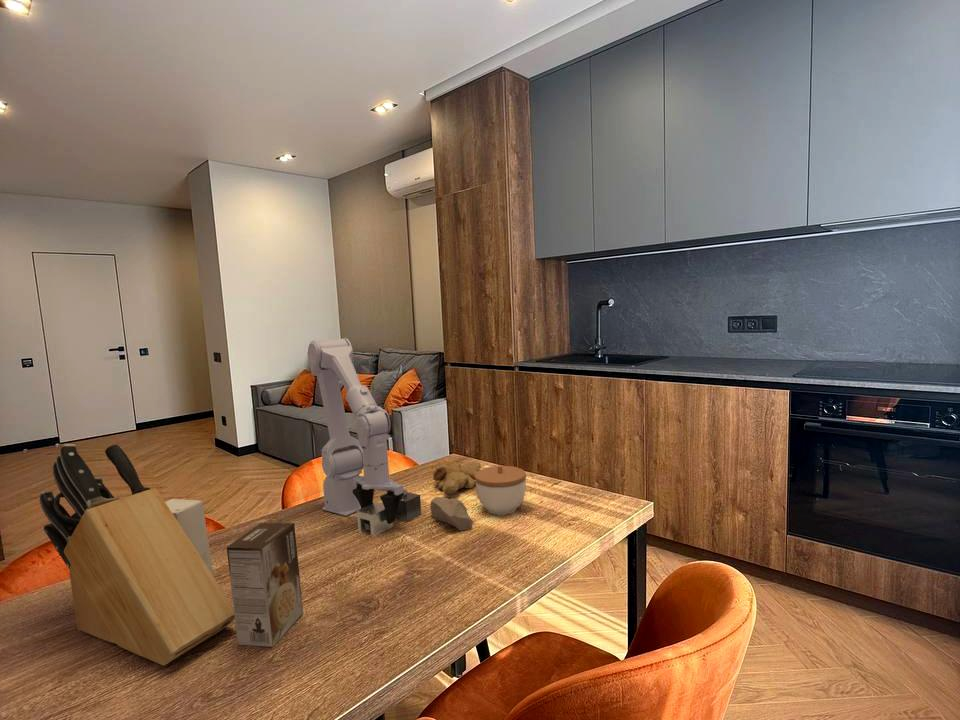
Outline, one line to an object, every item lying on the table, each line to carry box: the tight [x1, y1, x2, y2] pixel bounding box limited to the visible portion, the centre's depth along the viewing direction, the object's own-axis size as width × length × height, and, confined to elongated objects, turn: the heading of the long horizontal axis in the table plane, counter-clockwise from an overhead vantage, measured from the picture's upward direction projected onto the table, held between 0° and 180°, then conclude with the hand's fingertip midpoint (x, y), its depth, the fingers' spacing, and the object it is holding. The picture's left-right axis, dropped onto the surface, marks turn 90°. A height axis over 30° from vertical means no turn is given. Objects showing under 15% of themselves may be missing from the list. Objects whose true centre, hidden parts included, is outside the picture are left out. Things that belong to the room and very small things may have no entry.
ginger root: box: [432, 462, 482, 495], centre depth 145 cm, size 16×16×8 cm
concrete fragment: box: [429, 496, 474, 531], centre depth 121 cm, size 7×14×6 cm, turn 23°
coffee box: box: [226, 522, 304, 648], centre depth 82 cm, size 9×6×16 cm
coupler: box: [365, 488, 422, 531], centre depth 123 cm, size 8×14×6 cm, turn 145°
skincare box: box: [165, 498, 214, 576], centre depth 99 cm, size 8×7×16 cm
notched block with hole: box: [356, 502, 394, 537], centre depth 119 cm, size 5×6×5 cm
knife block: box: [39, 443, 235, 667], centre depth 84 cm, size 11×35×31 cm, turn 63°
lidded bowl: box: [474, 464, 527, 516], centre depth 126 cm, size 13×13×11 cm
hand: (379, 519), depth 120 cm, fingers open, 7 cm apart
